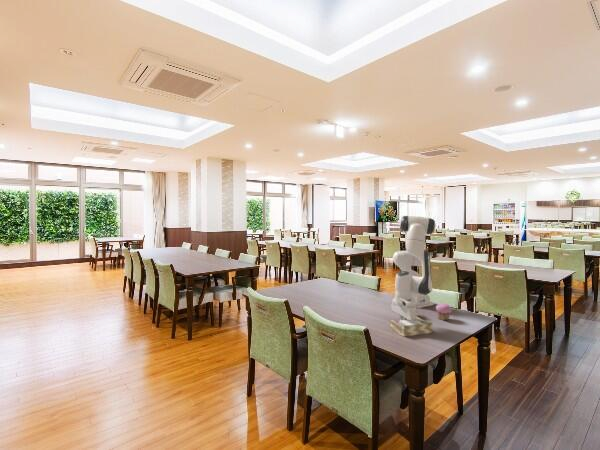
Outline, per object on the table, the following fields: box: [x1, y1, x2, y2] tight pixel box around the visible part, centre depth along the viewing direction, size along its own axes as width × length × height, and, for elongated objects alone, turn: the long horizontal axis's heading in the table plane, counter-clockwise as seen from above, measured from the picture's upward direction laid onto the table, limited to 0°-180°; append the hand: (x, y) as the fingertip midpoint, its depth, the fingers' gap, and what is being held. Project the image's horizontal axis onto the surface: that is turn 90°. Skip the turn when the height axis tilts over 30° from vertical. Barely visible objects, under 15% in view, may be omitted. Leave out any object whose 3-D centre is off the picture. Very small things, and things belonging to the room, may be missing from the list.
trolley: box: [398, 319, 421, 326], centre depth 178 cm, size 11×9×5 cm
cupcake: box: [435, 302, 453, 321], centre depth 194 cm, size 9×9×10 cm
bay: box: [389, 316, 433, 337], centre depth 177 cm, size 18×14×6 cm
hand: (403, 323), depth 184 cm, fingers closed
